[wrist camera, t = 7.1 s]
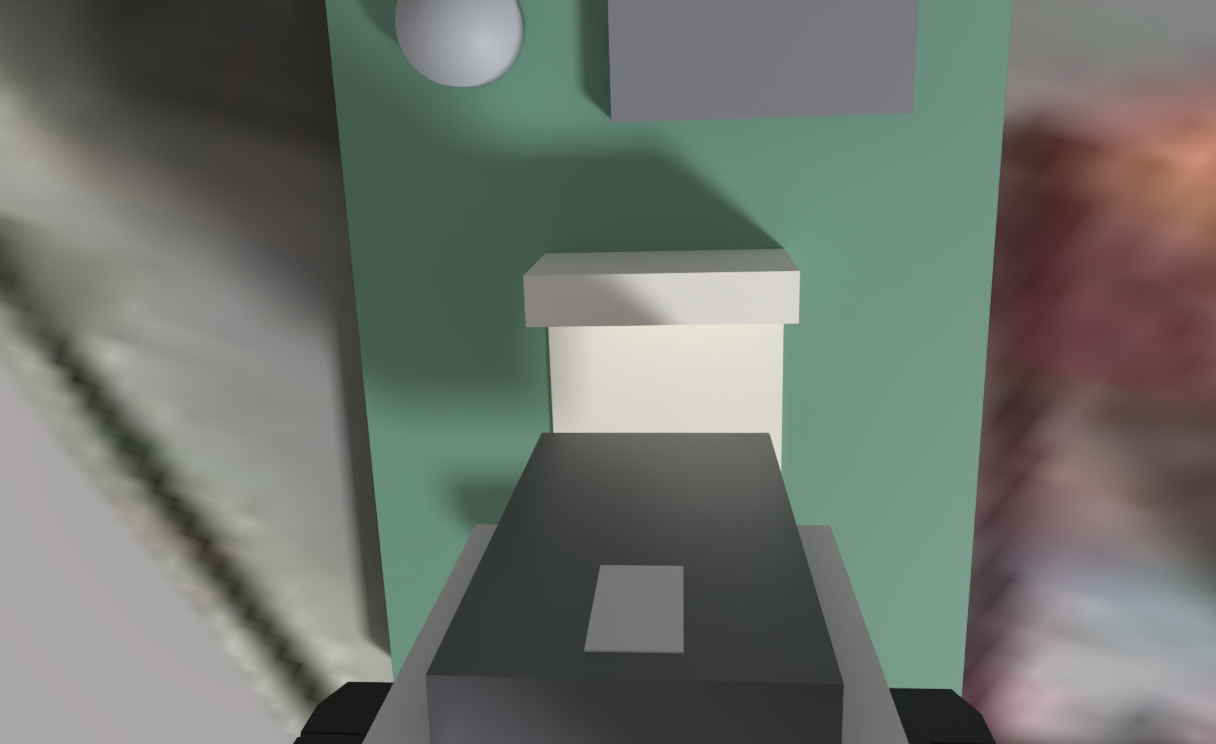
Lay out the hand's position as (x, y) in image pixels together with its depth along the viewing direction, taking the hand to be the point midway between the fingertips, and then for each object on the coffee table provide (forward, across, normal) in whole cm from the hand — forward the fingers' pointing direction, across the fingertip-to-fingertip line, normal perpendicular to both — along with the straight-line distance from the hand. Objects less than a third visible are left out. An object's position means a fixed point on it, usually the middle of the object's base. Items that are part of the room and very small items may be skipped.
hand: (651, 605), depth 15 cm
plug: (+2, 0, 0) cm, 2 cm away
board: (+9, 0, +3) cm, 9 cm away
